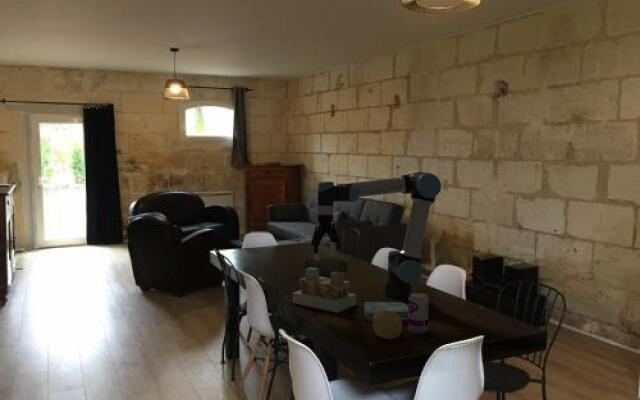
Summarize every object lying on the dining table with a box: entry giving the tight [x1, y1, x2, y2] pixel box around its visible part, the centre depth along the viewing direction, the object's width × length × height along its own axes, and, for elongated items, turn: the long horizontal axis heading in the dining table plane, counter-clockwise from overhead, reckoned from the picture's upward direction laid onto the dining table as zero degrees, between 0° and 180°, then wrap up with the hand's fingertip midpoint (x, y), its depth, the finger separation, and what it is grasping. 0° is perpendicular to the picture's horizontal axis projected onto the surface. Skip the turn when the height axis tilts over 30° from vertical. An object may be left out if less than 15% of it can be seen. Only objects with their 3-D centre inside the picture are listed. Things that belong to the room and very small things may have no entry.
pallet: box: [298, 275, 351, 300], centre depth 248 cm, size 22×11×6 cm, turn 56°
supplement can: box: [407, 292, 430, 334], centre depth 213 cm, size 8×8×15 cm
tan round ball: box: [372, 310, 403, 340], centre depth 206 cm, size 12×12×11 cm
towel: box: [363, 301, 408, 323], centre depth 233 cm, size 18×21×5 cm
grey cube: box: [304, 266, 320, 280], centre depth 252 cm, size 5×5×5 cm
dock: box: [292, 289, 357, 314], centre depth 249 cm, size 26×16×5 cm, turn 56°
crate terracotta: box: [329, 270, 345, 285], centre depth 244 cm, size 5×5×5 cm
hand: (324, 257), depth 247 cm, fingers open, 13 cm apart
